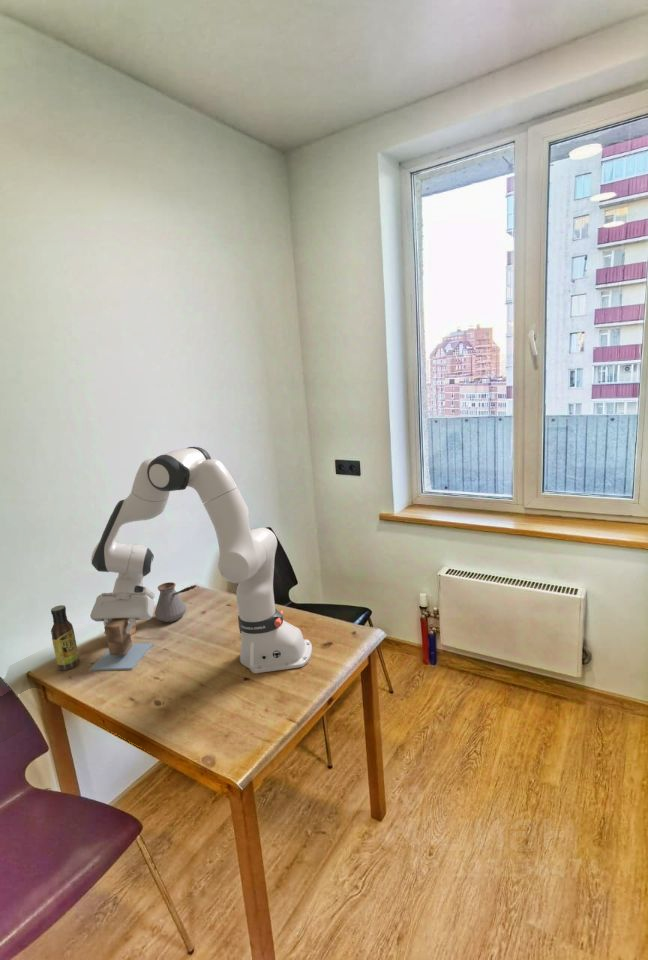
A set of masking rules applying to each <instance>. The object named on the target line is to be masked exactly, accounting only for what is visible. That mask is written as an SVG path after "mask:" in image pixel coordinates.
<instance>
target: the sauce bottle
mask: <svg viewBox="0 0 648 960" xmlns="http://www.w3.org/2000/svg"><path fill="white" fill-rule="evenodd" d="M66 610H67V608H66V606H65V605H62V604H61V605H56V606H54V607H52V608H51V609H50V613H51V616H52V619H53V620H52V622H53V624H52V627H51V630H50V633H51V640H52V644H53V645H52V646H53V650H54V656H55V660H56V661H55V662H56V665H57V669H58V670H60V671H65V670H70V669H72V668H75V667H77V665H78V664H79V663H80V660H79V651H78V647H77V641H76V636H75V630H74V625H73V624H72V623H71V622H70V621H69V620H68V617H67V611H66Z"/></svg>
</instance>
